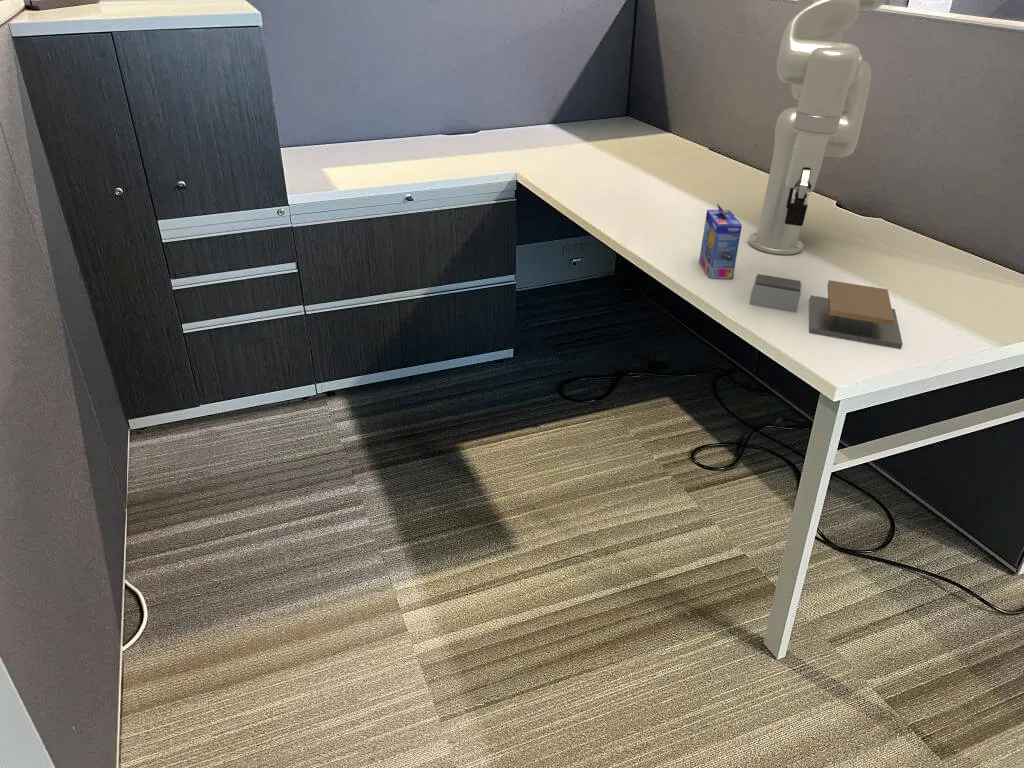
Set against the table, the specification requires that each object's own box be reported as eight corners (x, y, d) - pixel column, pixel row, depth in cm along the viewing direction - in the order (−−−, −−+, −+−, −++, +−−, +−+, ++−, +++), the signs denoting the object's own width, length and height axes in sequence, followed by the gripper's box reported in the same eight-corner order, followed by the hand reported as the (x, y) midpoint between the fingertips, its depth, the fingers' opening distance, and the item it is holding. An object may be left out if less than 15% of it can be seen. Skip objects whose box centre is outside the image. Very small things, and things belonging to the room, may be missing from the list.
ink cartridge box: (696, 261, 172) (708, 198, 164) (720, 262, 172) (733, 199, 165) (707, 278, 163) (720, 213, 156) (733, 279, 164) (746, 214, 156)
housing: (751, 295, 157) (756, 273, 154) (796, 303, 155) (802, 280, 152) (749, 305, 153) (754, 282, 150) (795, 313, 151) (801, 290, 148)
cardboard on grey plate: (809, 299, 156) (815, 277, 153) (893, 313, 152) (901, 290, 149) (809, 332, 143) (815, 308, 140) (901, 348, 139) (909, 324, 136)
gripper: (795, 112, 144) (775, 201, 152) (793, 130, 129) (771, 227, 138) (837, 116, 142) (814, 206, 150) (840, 136, 127) (814, 234, 136)
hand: (793, 216), depth 144 cm, fingers open, 9 cm apart
